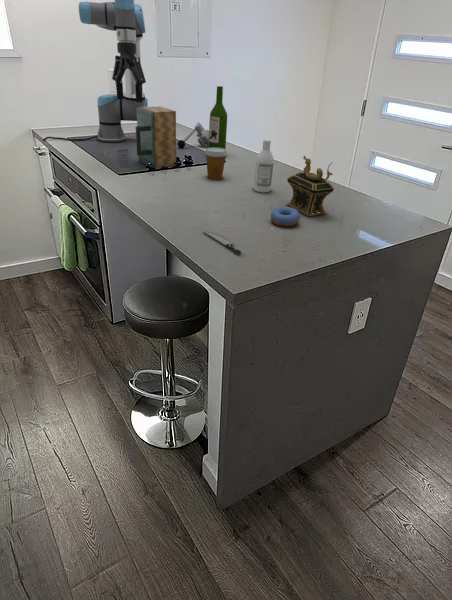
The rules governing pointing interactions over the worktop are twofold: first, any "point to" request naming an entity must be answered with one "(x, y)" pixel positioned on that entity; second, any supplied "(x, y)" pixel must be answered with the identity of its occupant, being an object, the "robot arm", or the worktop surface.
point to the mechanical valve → (200, 133)
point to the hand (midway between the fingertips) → (129, 100)
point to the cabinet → (164, 136)
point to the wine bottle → (218, 122)
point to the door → (145, 137)
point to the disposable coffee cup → (215, 162)
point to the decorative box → (309, 190)
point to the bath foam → (264, 168)
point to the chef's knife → (224, 242)
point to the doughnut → (285, 216)
